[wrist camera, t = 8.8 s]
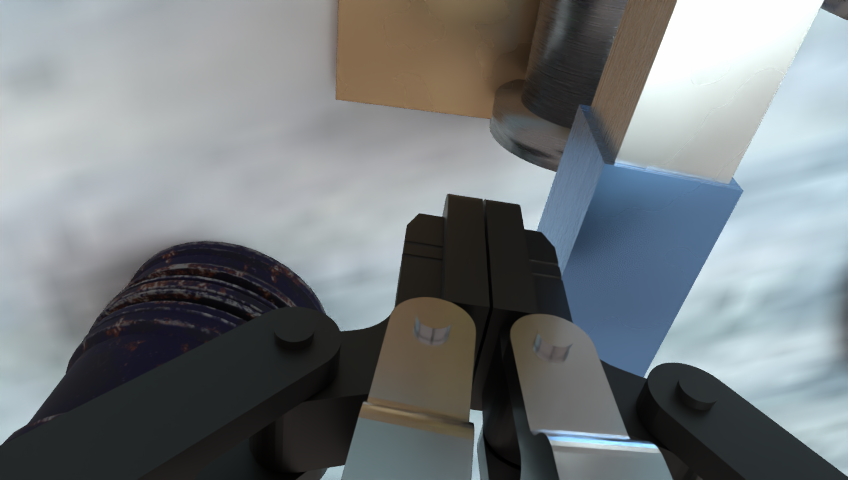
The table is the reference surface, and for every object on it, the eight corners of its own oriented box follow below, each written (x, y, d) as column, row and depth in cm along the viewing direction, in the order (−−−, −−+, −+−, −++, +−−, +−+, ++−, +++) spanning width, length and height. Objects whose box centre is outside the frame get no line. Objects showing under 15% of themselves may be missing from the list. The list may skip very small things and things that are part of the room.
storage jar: (314, 416, 32) (214, 780, 20) (126, 373, 31) (-103, 725, 19) (350, 270, 27) (246, 642, 14) (125, 213, 26) (-196, 557, 13)
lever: (719, -451, 8) (819, -568, 6) (971, -389, 8) (1165, -479, 6) (492, 288, 15) (496, 369, 13) (632, 313, 15) (661, 398, 13)
